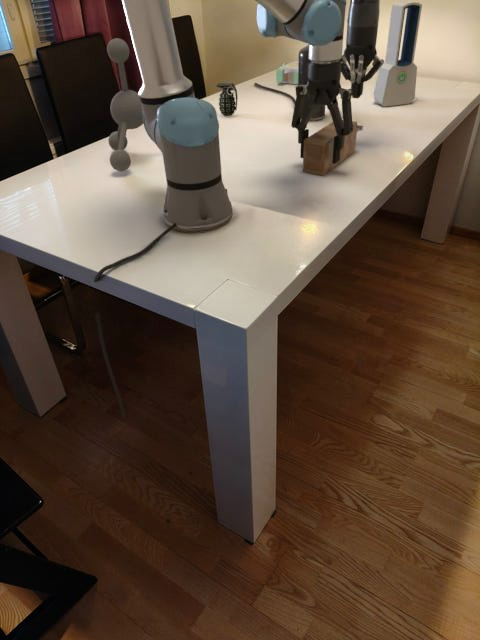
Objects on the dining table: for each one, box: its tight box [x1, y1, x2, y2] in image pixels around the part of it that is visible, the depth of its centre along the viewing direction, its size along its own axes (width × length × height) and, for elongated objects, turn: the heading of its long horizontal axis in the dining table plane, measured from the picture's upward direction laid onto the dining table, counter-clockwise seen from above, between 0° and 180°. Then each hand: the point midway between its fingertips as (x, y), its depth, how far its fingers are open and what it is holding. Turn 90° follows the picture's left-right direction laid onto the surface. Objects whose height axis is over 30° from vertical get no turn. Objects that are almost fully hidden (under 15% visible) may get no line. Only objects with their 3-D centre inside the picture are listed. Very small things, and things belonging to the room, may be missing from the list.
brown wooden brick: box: [302, 120, 358, 176], centre depth 128 cm, size 19×6×8 cm, turn 146°
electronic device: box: [373, 0, 423, 108], centre depth 163 cm, size 12×8×30 cm, turn 105°
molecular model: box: [106, 37, 144, 172], centre depth 131 cm, size 24×22×30 cm
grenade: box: [215, 82, 238, 117], centre depth 166 cm, size 7×6×10 cm
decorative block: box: [275, 59, 299, 85], centre depth 205 cm, size 26×6×20 cm
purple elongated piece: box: [355, 124, 364, 144], centre depth 131 cm, size 24×5×6 cm, turn 146°
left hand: (319, 158), depth 125 cm, fingers open, 8 cm apart
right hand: (356, 97), depth 132 cm, fingers closed
